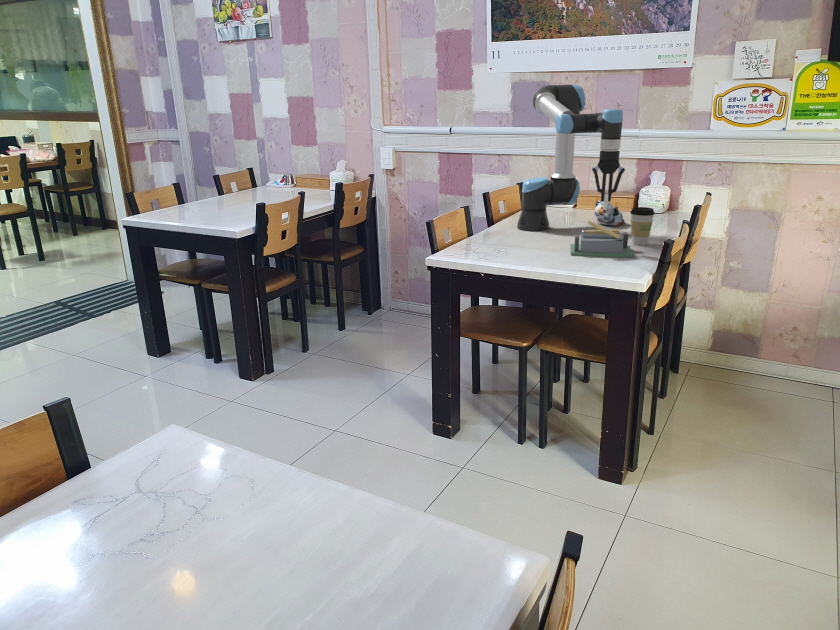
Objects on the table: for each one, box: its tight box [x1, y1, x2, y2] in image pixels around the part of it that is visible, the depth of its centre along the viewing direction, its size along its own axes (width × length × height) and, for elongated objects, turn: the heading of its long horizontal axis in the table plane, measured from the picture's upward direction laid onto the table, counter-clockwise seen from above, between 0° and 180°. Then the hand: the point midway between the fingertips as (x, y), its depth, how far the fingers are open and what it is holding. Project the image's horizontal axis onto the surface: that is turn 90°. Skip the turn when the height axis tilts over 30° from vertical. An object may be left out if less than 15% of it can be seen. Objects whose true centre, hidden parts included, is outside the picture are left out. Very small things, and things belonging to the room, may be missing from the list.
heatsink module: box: [569, 231, 634, 258], centre depth 266 cm, size 24×15×7 cm, turn 78°
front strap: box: [587, 220, 623, 241], centre depth 260 cm, size 15×4×2 cm, turn 79°
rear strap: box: [581, 228, 620, 235], centre depth 269 cm, size 15×4×2 cm, turn 78°
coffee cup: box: [629, 206, 656, 246], centre depth 277 cm, size 10×10×15 cm
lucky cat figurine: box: [594, 199, 626, 227], centre depth 316 cm, size 15×12×14 cm
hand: (605, 209), depth 266 cm, fingers closed
